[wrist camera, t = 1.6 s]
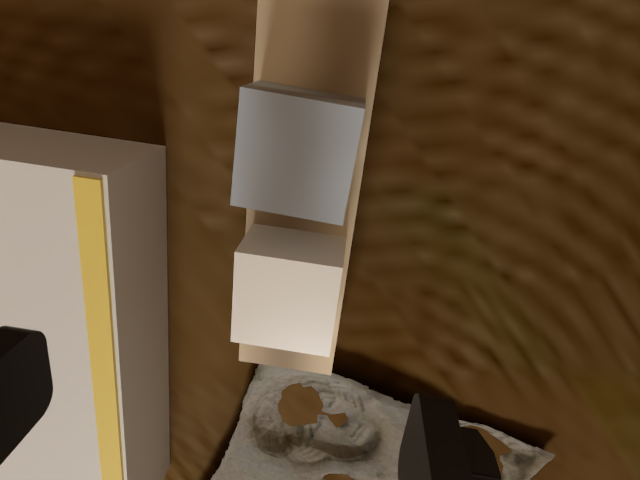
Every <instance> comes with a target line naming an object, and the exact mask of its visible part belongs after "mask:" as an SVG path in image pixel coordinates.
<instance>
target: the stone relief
mask: <svg viewBox="0 0 640 480" xmlns="http://www.w3.org/2000/svg"><path fill="white" fill-rule="evenodd" d="M255 374H256V375H254V377H253V381H252V382H251V384H250V385H249V388H248V391H247V392H248V393H246V395H245V397H244V400H243V402H242V403H243V406H242V408H243V409H242V411H241V413H240V416H239V417H240V420H239V422H237V423H238V425H237V427H236V429H235V432H234V434H233V435H232V439H231V441H230V443H229V444H230V446H228V450H226V452H225V455H226V456H224V457H225V458H222V461H221V464H222V465H220V467H219V468H218V470H216V473H215V474H214V475H212V476H213V477H212V478H211V480H325V478H324V476H325V475H327V474H330V473H336V474H346V475H348V476H350V477H352V478H354V479H355V480H398V459H399V451H400V446H401V442H402V438H403V434H404V430H405V426H406V423H407V419H408V415H409V411H410V407H411V404H409V403H408V404H404V403H402V402H400V401H395V400H393V398H392V397H389V396H386V395H383V394H380V393H378V392H376V391H373V390H370V389H368V388H369V387H368V386H366V385H363V386H362V384H361V383H358V382H356V381H354V380H352V379H350V378H344V377H343V376H340V375H337V374H334V373H331V375H326V374H319V373H313V372H307V371H301V370H294V369H288V368H282V367H275V366H269V365H263V364H259V365H258V368H257V369H255ZM301 382H302V383H301ZM295 383H301V384H302V386H303V387H307V386H312V387H313V388H314V389H315V390H316V391H317V392H318V393H319V395H320V398H321V400H322V402H323V404H324V405H323V408H322V411H323V412H326V413H329V414H338V413H344V412H345V413H346V416H347V420H346V422H345V423H344V424H343V425H342V426H340V427H338V428H336V427H335V426H334V425H333V424H332V422H331V421H330V420H329V418H328V416H327V415H318V418H317V421H318V423H316V424H309V425H305V426H301V425H298V426H295V427H291V426H289V425H288V424H286V423H283V422H282V418H281V416H280V414H279V412H278V402H279V401H280V400H281V398H282V395H281V392H282V390H283V389H285V388H286V387H287V386H289V385H290V384H295ZM333 410H334V411H333ZM459 424H460V427H461V426H467V425H473V426H477V427H480V428H483V429H485V430H487V431H488V432H489V433H490V434H491V435H493V436H495V437H496V438H498V439H499V440H501V441H502V442H504V443H505V444H506V445H507V446H508V447H509V448H510V449H511V452H509V453H507V454H504V455H500V461H501V462H502V464H503V466H504V468H503V472H502V474H501V480H530V478H532V477H533V475H535V474H536V473H537V472H538V471H539V470H540V469H541V468H542V467H543V466H544V464H547V462H550V461H551V460H552V459H553V458H554V456H555V455H554V454H552V453H550V452H546V451H544V450H542V449H540V448H538V447H536V448H535V447H533V446H530V445H528V444H526V443H524V442H521V441H519V440H517V439H514V438H513V437H511V436H508V435H506V434H505V433H503V432H500V431H497V430H495V429H493V428H491V427H489V426H485V425H484V424H478V423H469V422H465V421H462V420H459Z"/></svg>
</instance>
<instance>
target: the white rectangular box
mask: <svg viewBox="0 0 640 480" xmlns="http://www.w3.org/2000/svg"><path fill="white" fill-rule="evenodd" d="M1 326H11V327H18V328H24V329H30V330H36V331H41V332H42V333H43V334H44V335H45V337H46V340H47V347H48V354H49V361H50V368H51V375H52V382H53V394H52V399H51V402H50V404H49V407H48V409H47V411H46V412H45V414H44V415H43V417H42V418H41V419H40V420H39V421H38V422H37V424H36V425H35V426H34V427H33V428H32V429H31V431H30V432H29V433H28V434H27V435H26V436H25V437H24V439H23V440H22V441H21V442H20V443H19V444H18V446H17V447H16V448H15V449H14V450H13V451H12V452H11V454H10V455H9V456H8V457H7V458H6V459H5V461H4V462H3V463H2V464H1V465H0V480H164V478H165V476H166V473H167V471H168V469H169V467H170V426H169V351H168V275H167V200H166V146H162V145H155V144H148V143H141V142H135V141H128V140H121V139H114V138H107V137H100V136H93V135H86V134H79V133H73V132H66V131H59V130H52V129H45V128H38V127H31V126H24V125H17V124H11V123H4V122H0V327H1Z"/></svg>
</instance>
